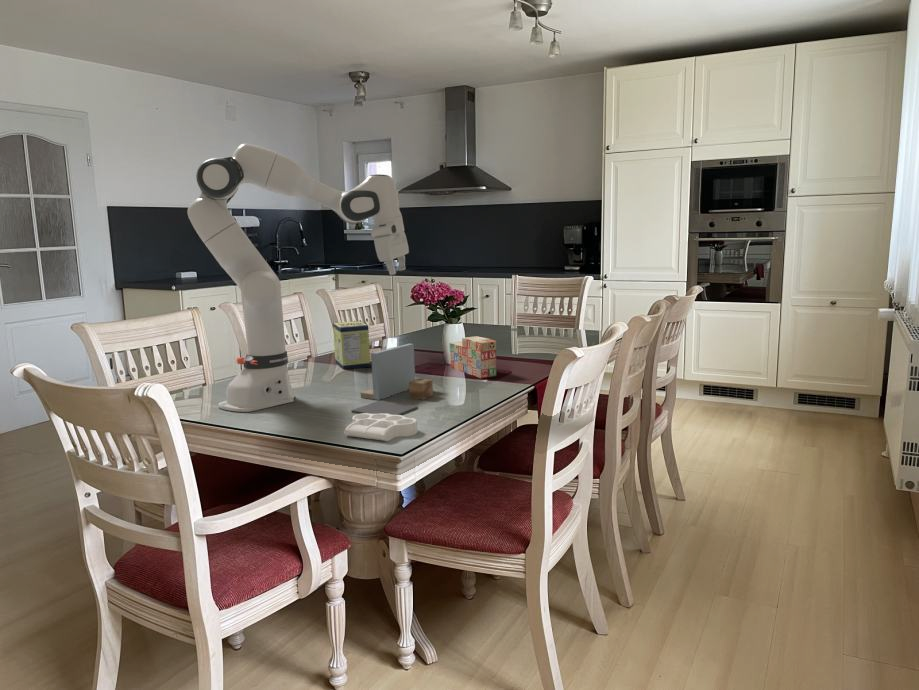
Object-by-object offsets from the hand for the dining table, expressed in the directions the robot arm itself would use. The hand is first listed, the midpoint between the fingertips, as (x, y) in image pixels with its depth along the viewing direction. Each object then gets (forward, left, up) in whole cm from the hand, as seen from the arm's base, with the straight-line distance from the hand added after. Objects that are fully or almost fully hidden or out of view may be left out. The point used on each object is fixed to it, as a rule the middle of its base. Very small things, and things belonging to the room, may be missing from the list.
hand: (397, 272), depth 209 cm
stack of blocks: (+29, -8, -37) cm, 48 cm away
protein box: (+20, +40, -37) cm, 58 cm away
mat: (-25, -13, -36) cm, 46 cm away
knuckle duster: (-41, -25, -37) cm, 61 cm away
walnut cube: (-8, -13, -37) cm, 40 cm away
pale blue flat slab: (-8, -1, -36) cm, 37 cm away
